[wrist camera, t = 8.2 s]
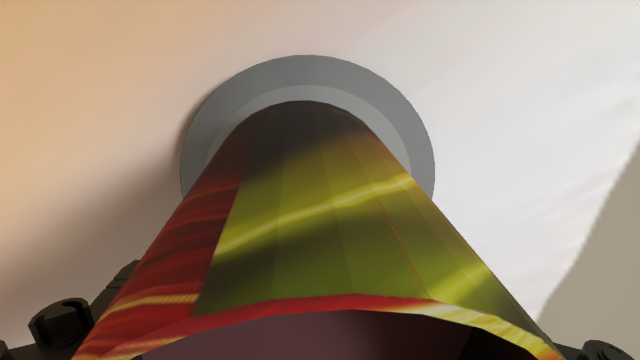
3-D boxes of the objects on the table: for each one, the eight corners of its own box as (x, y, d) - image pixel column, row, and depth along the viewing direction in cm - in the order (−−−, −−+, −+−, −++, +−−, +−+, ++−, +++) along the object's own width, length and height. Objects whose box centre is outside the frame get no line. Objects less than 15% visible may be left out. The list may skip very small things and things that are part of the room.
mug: (280, 322, 20) (262, 642, 10) (176, 137, 15) (-169, 425, 4) (417, 282, 20) (565, 575, 9) (367, 71, 14) (622, 185, 3)
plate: (168, 49, 17) (157, 49, 15) (451, 60, 17) (461, 61, 16) (202, 276, 23) (196, 288, 22) (408, 278, 24) (413, 290, 22)
